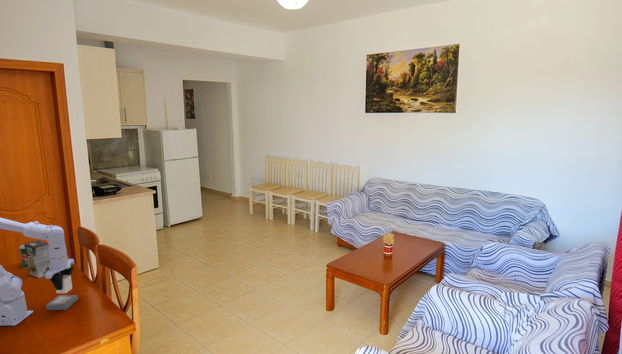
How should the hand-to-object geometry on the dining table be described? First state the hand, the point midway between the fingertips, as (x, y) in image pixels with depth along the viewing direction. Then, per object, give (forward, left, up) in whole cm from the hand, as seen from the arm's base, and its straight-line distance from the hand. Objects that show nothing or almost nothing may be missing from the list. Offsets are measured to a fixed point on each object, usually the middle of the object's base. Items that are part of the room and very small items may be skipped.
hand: (63, 286), depth 153 cm
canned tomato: (+39, +44, -9) cm, 59 cm away
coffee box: (+29, +32, -9) cm, 44 cm away
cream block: (0, 0, -2) cm, 2 cm away
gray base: (0, +2, -8) cm, 8 cm away
